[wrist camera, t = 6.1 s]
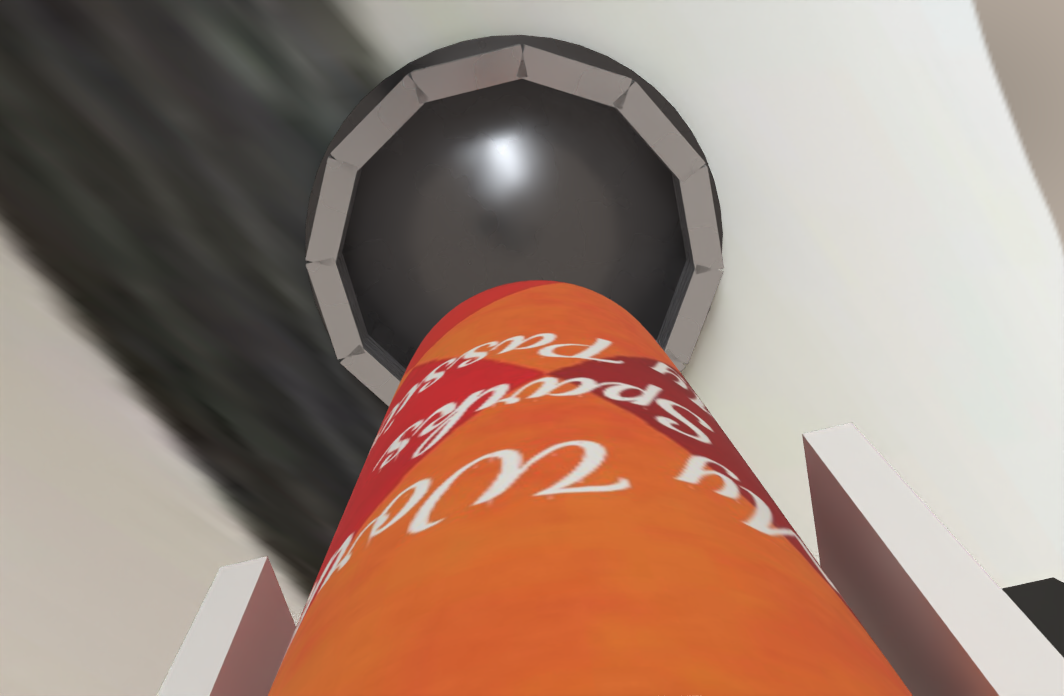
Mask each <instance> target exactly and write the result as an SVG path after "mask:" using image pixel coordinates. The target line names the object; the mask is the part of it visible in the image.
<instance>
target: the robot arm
mask: <svg viewBox="0 0 1064 696" xmlns="http://www.w3.org/2000/svg"><path fill="white" fill-rule="evenodd" d="M802 436H803V443H804V450H805V457H806V464H807V472H808V479H809V486H810V493H811V500H812V507H813V514H814V522H815V529H816V536H817V543H818V550H819V557H820V565H821V568H822V569H823V571H824V572H825V574H826V575H827V576H828V578H829V579H830V581H831V582H832V583H833V585H834V586H835V588H836V589H837V590H838V592H839V593H840V595H841V596H842V597H843V599H844V600H845V602H846V603H847V604H848V606H849V607H850V609H851V610H852V611H853V613H854V614H855V616H856V617H857V618H858V620H859V621H860V623H861V624H862V625H863V627H864V628H865V629H866V631H867V632H868V634H869V635H870V636H871V638H872V639H873V641H874V642H875V643H876V645H877V646H878V648H879V649H880V650H881V652H882V653H883V655H884V656H885V657H886V659H887V660H888V662H889V663H890V664H891V666H892V667H893V669H894V670H895V671H896V673H897V674H898V676H899V677H900V678H901V680H902V681H903V683H904V684H905V685H906V687H907V688H908V690H909V691H910V692H911V694H912V695H913V696H1064V583H1063V582H1061V581H1059V580H1057V579H1055V578H1049V579H1044V580H1040V581H1035V582H1030V583H1026V584H1021V585H1017V586H1012V587H1008V588H1003V589H1001V588H1000V586H999V585H998V584H997V583H996V582H995V581H994V580H993V579H992V577H991V576H990V575H989V574H988V573H987V572H986V571H985V570H984V569H983V567H982V566H981V565H980V564H979V563H978V562H977V561H976V560H975V559H974V557H973V556H972V555H971V554H970V553H969V552H968V551H967V550H966V549H965V547H964V546H963V545H962V544H961V543H960V542H959V541H958V540H957V539H956V537H955V536H954V535H953V534H952V533H951V532H950V531H949V530H948V528H947V527H946V526H945V525H944V524H943V523H942V522H941V521H940V520H939V518H938V517H937V516H936V515H935V514H934V513H933V512H932V511H931V510H930V508H929V507H928V506H927V505H926V504H925V503H924V502H923V501H922V500H921V498H920V497H919V496H918V495H917V494H916V493H915V492H914V491H913V490H912V488H911V487H910V486H909V485H908V484H907V483H906V482H905V481H904V479H903V478H902V477H901V476H900V475H899V474H898V473H897V472H896V471H895V469H894V468H893V467H892V466H891V465H890V464H889V463H888V462H887V461H886V459H885V458H884V457H883V456H882V455H881V454H880V453H879V452H878V451H877V449H876V448H875V447H874V446H873V445H872V444H871V443H870V442H869V441H868V439H867V438H866V437H865V436H864V435H863V434H862V433H861V432H860V431H859V429H858V428H857V427H856V426H855V425H854V424H853V423H852V422H851V423H847V424H842V425H838V426H834V427H829V428H825V429H821V430H816V431H812V432H807V433H803V434H802ZM295 629H296V626H295V623H294V621H293V618H292V616H291V613H290V611H289V608H288V606H287V603H286V601H285V598H284V596H283V593H282V591H281V589H280V586H279V584H278V581H277V579H276V576H275V574H274V571H273V569H272V566H271V564H270V561H269V559H268V556H266V557H262V558H257V559H253V560H249V561H244V562H240V563H236V564H231V565H227V566H223V567H220V568H219V571H218V573H217V575H216V577H215V579H214V581H213V583H212V585H211V587H210V589H209V591H208V593H207V595H206V597H205V599H204V601H203V603H202V605H201V607H200V609H199V611H198V613H197V615H196V617H195V619H194V621H193V623H192V625H191V627H190V629H189V631H188V633H187V635H186V637H185V639H184V641H183V643H182V645H181V647H180V649H179V651H178V653H177V655H176V657H175V659H174V662H173V664H172V666H171V668H170V670H169V672H168V674H167V676H166V678H165V680H164V682H163V684H162V686H161V688H160V690H159V692H158V694H157V696H268V694H269V691H270V689H271V687H272V684H273V682H274V679H275V677H276V675H277V672H278V670H279V667H280V665H281V662H282V660H283V658H284V655H285V653H286V650H287V648H288V646H289V643H290V641H291V638H292V636H293V634H294V631H295Z"/></svg>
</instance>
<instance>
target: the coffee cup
mask: <svg viewBox="0 0 1064 696" xmlns="http://www.w3.org/2000/svg"><path fill="white" fill-rule="evenodd" d="M268 696H913V695H912V694H911V692H910V691H909V690H908V688H907V687H906V685H905V684H904V683H903V681H902V680H901V678H900V677H899V676H898V674H897V673H896V671H895V670H894V669H893V667H892V666H891V664H890V663H889V662H888V660H887V659H886V657H885V656H884V655H883V653H882V652H881V650H880V649H879V648H878V646H877V645H876V643H875V642H874V641H873V639H872V638H871V636H870V635H869V634H868V632H867V631H866V629H865V628H864V627H863V625H862V624H861V623H860V621H859V620H858V618H857V617H856V616H855V614H854V613H853V611H852V610H851V609H850V607H849V606H848V604H847V603H846V602H845V600H844V599H843V597H842V596H841V595H840V593H839V592H838V590H837V589H836V588H835V586H834V585H833V583H832V582H831V581H830V579H829V578H828V576H827V575H826V574H825V572H824V571H823V569H822V568H821V567H820V565H819V564H818V562H817V561H816V560H815V558H814V557H813V555H812V554H811V553H810V551H809V550H808V548H807V547H806V546H805V544H804V543H803V541H802V540H801V539H800V537H799V536H798V534H797V533H796V532H795V530H794V529H793V527H792V526H791V525H790V523H789V522H788V520H787V519H786V518H785V516H784V515H783V513H782V512H781V511H780V509H779V508H778V506H777V505H776V504H775V502H774V501H773V499H772V498H771V497H770V495H769V494H768V492H767V491H766V490H765V488H764V487H763V485H762V484H761V483H760V481H759V480H758V478H757V477H756V476H755V474H754V473H753V472H752V470H751V469H750V467H749V466H748V465H747V463H746V462H745V460H744V459H743V458H742V456H741V455H740V454H739V452H738V451H737V449H736V448H735V447H734V445H733V444H732V442H731V441H730V440H729V438H728V437H727V436H726V434H725V433H724V431H723V430H722V429H721V427H720V426H719V425H718V423H717V422H716V420H715V419H714V418H713V416H712V415H711V413H710V412H709V411H708V409H707V408H706V407H705V405H704V404H703V402H702V401H701V400H700V398H699V397H698V396H697V394H696V393H695V392H694V390H693V389H692V388H691V386H690V385H689V384H688V382H687V381H686V379H685V378H684V377H683V375H682V374H681V373H680V371H679V370H678V369H677V367H676V366H675V365H674V363H673V362H672V361H671V359H670V358H669V357H668V355H667V354H666V353H665V352H664V350H663V349H662V348H661V347H660V345H659V344H658V343H657V342H656V340H655V339H654V338H653V337H652V335H651V334H650V333H649V332H648V331H647V330H646V329H645V328H644V327H643V326H642V325H641V323H640V322H639V321H638V320H637V319H635V318H634V317H633V316H632V315H631V314H630V313H629V312H628V311H626V310H625V309H624V308H622V307H621V306H620V305H618V304H617V303H615V302H614V301H612V300H610V299H608V298H607V297H605V296H603V295H601V294H599V293H597V292H594V291H592V290H590V289H587V288H584V287H581V286H577V285H574V284H570V283H565V282H558V281H549V280H528V281H519V282H513V283H508V284H504V285H500V286H497V287H494V288H491V289H488V290H485V291H483V292H481V293H479V294H476V295H474V296H473V297H471V298H469V299H467V300H465V301H464V302H462V303H461V304H459V305H458V306H456V307H455V308H454V309H452V310H451V311H450V312H449V313H447V314H446V315H445V316H444V317H443V318H442V319H441V320H440V321H439V322H438V323H437V324H436V325H435V326H434V327H433V328H432V329H431V330H430V332H429V333H428V334H427V335H426V337H425V338H424V340H423V341H422V342H421V344H420V345H419V347H418V349H417V351H416V352H415V354H414V356H413V358H412V359H411V361H410V363H409V365H408V367H407V369H406V371H405V373H404V375H403V377H402V379H401V382H400V384H399V386H398V388H397V390H396V392H395V394H394V397H393V399H392V401H391V403H390V406H389V408H388V410H387V413H386V415H385V417H384V420H383V422H382V424H381V426H380V429H379V431H378V433H377V436H376V438H375V440H374V443H373V445H372V447H371V450H370V452H369V454H368V457H367V459H366V462H365V464H364V466H363V469H362V471H361V473H360V476H359V478H358V480H357V483H356V485H355V488H354V490H353V492H352V495H351V497H350V499H349V502H348V504H347V507H346V509H345V511H344V514H343V516H342V518H341V521H340V523H339V525H338V528H337V530H336V533H335V535H334V537H333V540H332V542H331V545H330V547H329V549H328V552H327V554H326V557H325V559H324V562H323V564H322V566H321V569H320V571H319V574H318V576H317V578H316V581H315V583H314V586H313V588H312V590H311V593H310V595H309V598H308V600H307V602H306V605H305V607H304V610H303V612H302V614H301V617H300V619H299V622H298V624H297V626H296V629H295V631H294V634H293V636H292V638H291V641H290V643H289V646H288V648H287V650H286V653H285V655H284V658H283V660H282V662H281V665H280V667H279V670H278V672H277V675H276V677H275V679H274V682H273V684H272V687H271V689H270V691H269V694H268Z"/></svg>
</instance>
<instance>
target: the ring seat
mask: <svg viewBox="0 0 1064 696" xmlns="http://www.w3.org/2000/svg"><path fill="white" fill-rule="evenodd" d="M722 237H723V232H722V221H721V210H720V204H719V199H718V195H717V191H716V186H715V182H714V179H713V176H712V173H711V171H710V168H709V166H708V163H707V160H706V158H705V155H704V153H703V151H702V149H701V148H700V146H699V144H698V142H697V140H696V138H695V137H694V135H693V133H692V131H691V130H690V128H689V127H688V126H687V124H686V123H685V122H684V120H683V119H682V118H681V116H680V115H679V113H678V112H677V111H676V109H675V108H674V107H673V106H672V105H671V104H670V103H669V102H668V101H667V100H666V99H665V98H664V97H663V96H662V95H661V94H660V93H659V92H658V91H657V90H656V89H655V88H654V87H653V86H652V85H650V84H649V83H648V82H646V81H645V80H644V79H643V78H641V77H640V76H639V75H637V74H636V73H635V72H633V71H632V70H630V69H629V68H627V67H625V66H623V65H622V64H620V63H618V62H616V61H615V60H613V59H611V58H609V57H608V56H605V55H603V54H600V53H598V52H595V51H593V50H590V49H588V48H585V47H583V46H580V45H577V44H573V43H569V42H565V41H561V40H557V39H553V38H546V37H537V36H527V35H506V36H489V37H484V38H478V39H472V40H467V41H462V42H459V43H456V44H453V45H450V46H447V47H444V48H441V49H438V50H435V51H433V52H431V53H429V54H427V55H425V56H423V57H421V58H419V59H417V60H414V61H412V62H410V63H408V64H407V65H405V66H404V67H402V68H401V69H400V70H398V71H397V72H395V73H394V74H392V75H391V76H389V77H388V78H386V79H385V80H383V81H382V82H381V83H380V84H379V85H378V86H377V87H376V88H375V89H373V90H372V91H371V92H370V93H369V94H368V95H367V96H366V97H364V98H363V99H362V100H361V102H360V103H359V104H358V105H357V106H356V108H355V109H354V110H353V111H352V112H351V114H350V115H349V116H348V117H347V118H346V119H345V121H344V122H343V124H342V125H341V127H340V128H339V130H338V132H337V133H336V135H335V136H334V138H333V140H332V141H331V143H330V144H329V146H328V148H327V151H326V153H325V155H324V157H323V160H322V162H321V164H320V166H319V169H318V171H317V174H316V178H315V181H314V184H313V188H312V191H311V195H310V199H309V206H308V212H307V219H306V247H305V252H306V260H307V263H306V267H307V270H308V276H309V281H310V285H311V288H312V292H313V296H314V300H315V303H316V306H317V308H318V311H319V313H320V316H321V318H322V321H323V323H324V325H325V328H326V330H327V331H328V333H329V335H330V338H331V341H332V344H333V347H334V350H335V353H336V356H337V359H341V362H340V363H341V364H342V365H343V366H344V367H345V368H346V369H347V370H349V371H350V372H351V373H352V374H353V375H354V376H355V377H356V378H358V379H359V380H360V381H361V382H362V383H363V384H364V385H365V386H366V387H368V388H369V389H370V390H371V391H372V392H373V393H374V394H375V395H376V396H378V397H379V398H380V399H381V400H382V401H383V402H384V403H385V404H387V405H388V406H390V403H391V401H392V399H393V397H394V394H395V392H396V390H397V388H398V386H399V384H400V382H401V379H402V377H403V375H404V373H405V371H406V369H407V367H408V365H409V363H410V361H411V359H412V358H413V356H414V354H415V352H416V351H417V349H418V347H419V345H420V344H421V342H422V341H423V340H424V338H425V337H426V335H427V334H428V333H429V332H430V330H431V329H432V328H433V327H434V326H435V325H436V324H437V323H438V322H439V321H440V320H441V319H442V318H443V317H444V316H445V315H446V314H447V313H449V312H450V311H451V310H452V309H454V308H455V307H456V306H458V305H459V304H461V303H462V302H464V301H465V300H467V299H469V298H471V297H473V296H474V295H476V294H479V293H481V292H483V291H485V290H488V289H491V288H494V287H497V286H500V285H504V284H508V283H513V282H519V281H528V280H549V281H558V282H565V283H570V284H574V285H577V286H581V287H584V288H587V289H590V290H592V291H594V292H597V293H599V294H601V295H603V296H605V297H607V298H608V299H610V300H612V301H614V302H615V303H617V304H618V305H620V306H621V307H622V308H624V309H625V310H626V311H628V312H629V313H630V314H631V315H632V316H633V317H634V318H635V319H637V320H638V321H639V322H640V323H641V325H642V326H643V327H644V328H645V329H646V330H647V331H648V332H649V333H650V334H651V335H652V337H653V338H654V339H655V340H656V342H657V343H658V344H659V345H660V347H661V348H662V349H663V350H664V352H665V353H666V354H667V355H668V357H669V358H670V359H671V361H672V362H673V363H674V365H675V366H676V367H677V369H678V370H679V371H680V372H681V371H682V370H683V369H684V368H685V365H684V363H686V364H688V363H689V360H690V357H691V355H692V352H693V350H694V347H695V344H696V342H697V339H698V337H699V334H700V331H701V329H702V326H703V324H704V321H705V319H706V316H707V314H708V312H709V310H710V307H711V303H712V300H713V298H714V295H715V292H716V290H717V287H718V285H719V282H720V280H721V277H722V274H723V271H722V270H721V268H724V265H723V259H722Z"/></svg>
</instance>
